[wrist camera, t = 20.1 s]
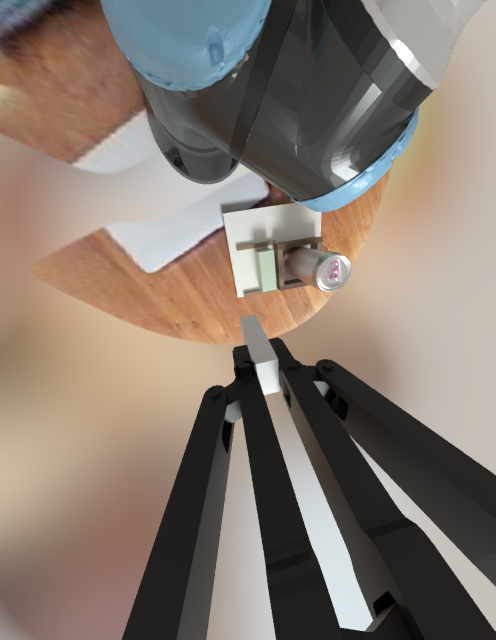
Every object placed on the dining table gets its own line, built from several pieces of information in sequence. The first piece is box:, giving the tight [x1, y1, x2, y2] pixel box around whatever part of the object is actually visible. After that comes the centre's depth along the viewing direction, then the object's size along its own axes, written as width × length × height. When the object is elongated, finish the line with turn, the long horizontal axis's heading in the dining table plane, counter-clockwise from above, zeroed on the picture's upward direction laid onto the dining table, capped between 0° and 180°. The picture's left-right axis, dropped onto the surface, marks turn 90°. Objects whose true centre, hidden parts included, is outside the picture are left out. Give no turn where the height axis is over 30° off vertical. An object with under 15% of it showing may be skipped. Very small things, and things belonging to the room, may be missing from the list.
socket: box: [273, 237, 322, 291], centre depth 39 cm, size 10×10×3 cm
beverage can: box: [283, 247, 351, 292], centre depth 33 cm, size 6×6×15 cm
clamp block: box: [255, 248, 277, 292], centre depth 38 cm, size 8×3×4 cm, turn 9°
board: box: [223, 203, 321, 297], centre depth 39 cm, size 17×20×2 cm
